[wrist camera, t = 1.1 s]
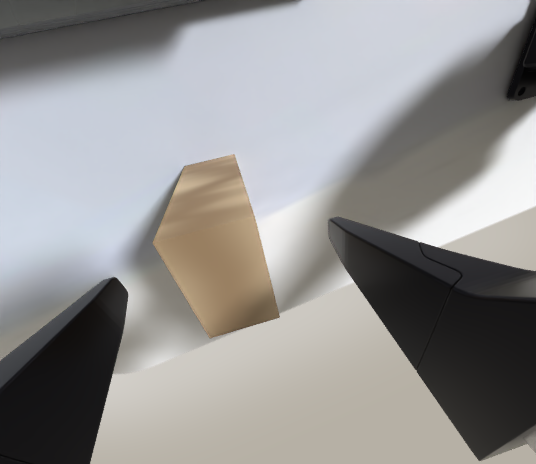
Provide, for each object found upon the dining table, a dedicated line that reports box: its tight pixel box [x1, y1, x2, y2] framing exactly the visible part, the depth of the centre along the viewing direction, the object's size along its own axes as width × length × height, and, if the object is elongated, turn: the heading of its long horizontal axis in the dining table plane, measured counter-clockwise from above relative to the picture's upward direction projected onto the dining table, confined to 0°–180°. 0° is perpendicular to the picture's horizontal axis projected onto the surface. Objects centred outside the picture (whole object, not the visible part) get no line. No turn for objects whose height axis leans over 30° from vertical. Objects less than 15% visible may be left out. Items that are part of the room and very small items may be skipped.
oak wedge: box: [153, 154, 280, 338], centre depth 11 cm, size 3×5×8 cm, turn 11°
